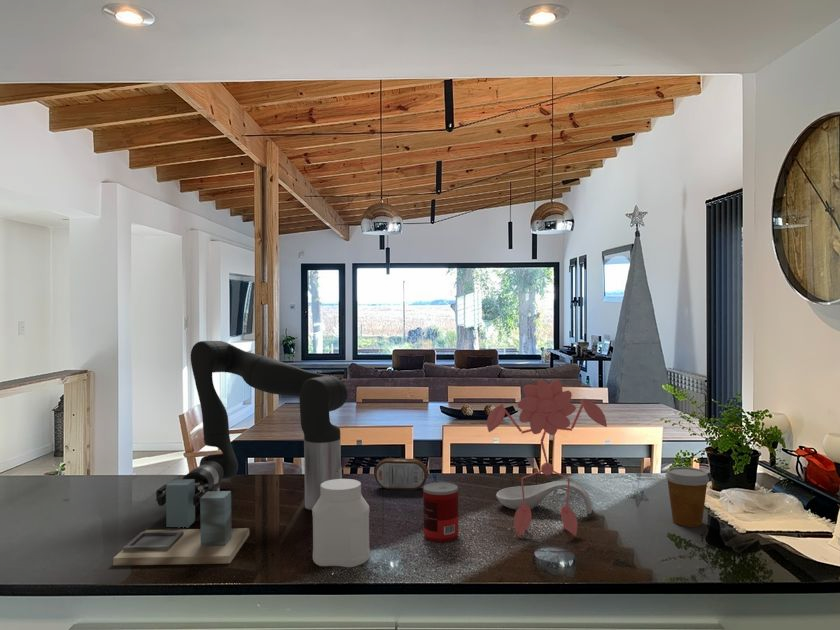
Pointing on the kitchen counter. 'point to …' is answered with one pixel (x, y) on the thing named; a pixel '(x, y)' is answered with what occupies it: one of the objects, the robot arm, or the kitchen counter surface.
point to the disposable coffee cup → (687, 494)
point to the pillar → (180, 503)
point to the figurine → (548, 413)
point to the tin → (401, 473)
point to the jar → (341, 525)
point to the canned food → (440, 511)
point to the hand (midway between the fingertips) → (177, 501)
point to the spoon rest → (538, 494)
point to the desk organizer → (190, 539)
